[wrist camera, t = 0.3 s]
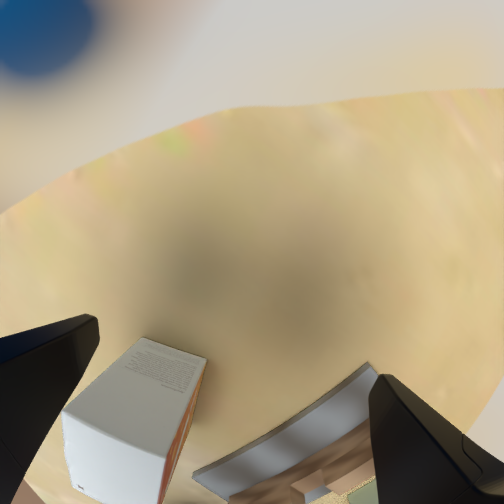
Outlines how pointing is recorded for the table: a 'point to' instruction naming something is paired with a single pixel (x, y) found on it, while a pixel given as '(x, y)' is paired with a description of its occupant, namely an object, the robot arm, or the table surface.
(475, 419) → the table surface
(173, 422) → the small box
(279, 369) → the table surface
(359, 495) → the green plate
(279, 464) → the slotted base
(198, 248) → the table surface
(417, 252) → the table surface
